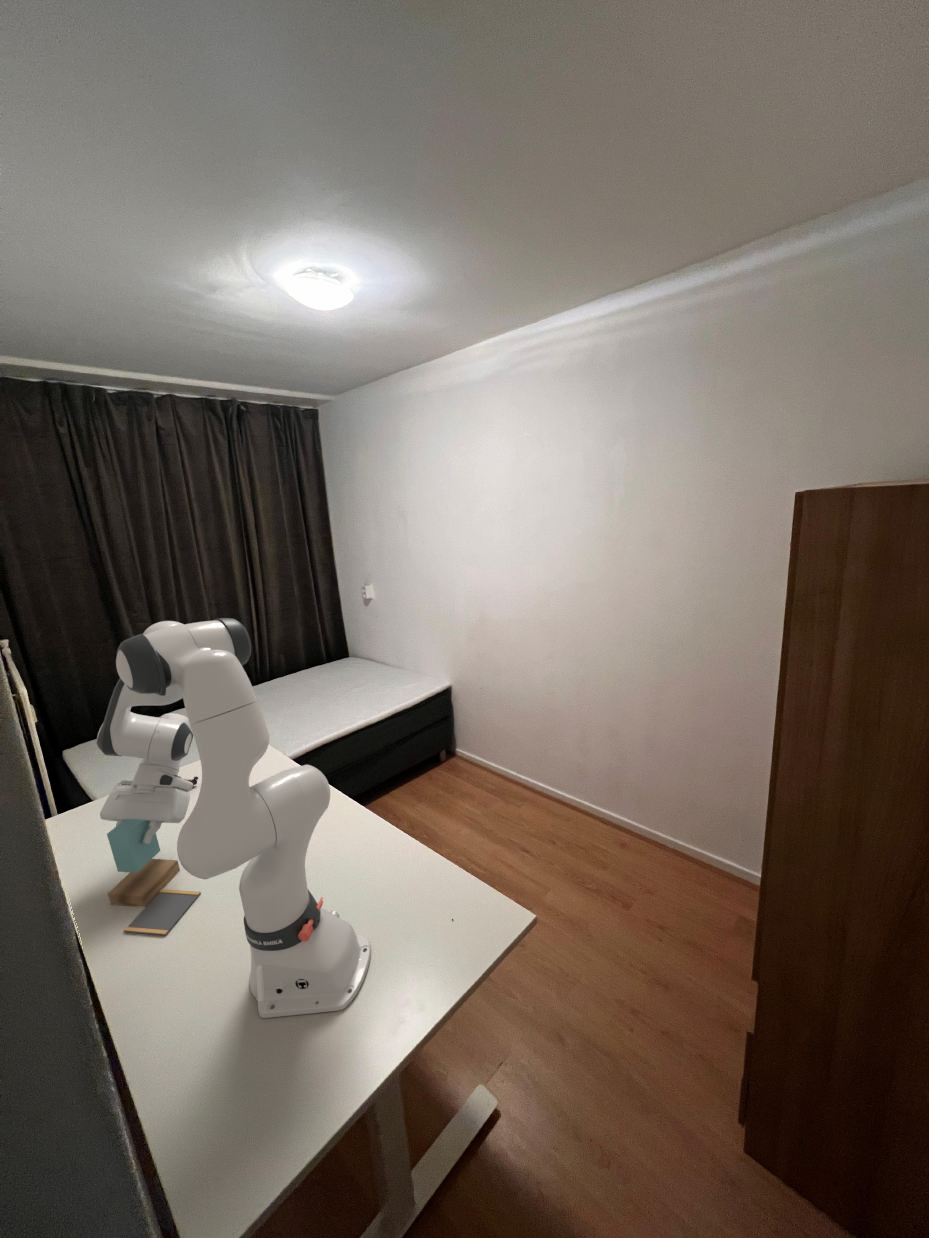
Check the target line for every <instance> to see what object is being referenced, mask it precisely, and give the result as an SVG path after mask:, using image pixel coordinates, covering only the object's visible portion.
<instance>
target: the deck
mask: <svg viewBox="0 0 929 1238" xmlns="http://www.w3.org/2000/svg"><path fill="white" fill-rule="evenodd" d="M180 871H181V869H180V865H179V859H176V860H175V859H163V858H161V859H160V858H152V859H151V860H150V861H149V862H148V863H147V864H146V865H145V866H144V867H143V868H142V869H141V870H140V871H139V872H137V873H133V872H128V874H127V875H125V877H123V878H122V880H120V882H119V883H117V885H115V886H114V887H113V888H112V889H110V891H109V892H108V893H107V897H108V899H109V904H110V905H111V906H125V907H138V908H145V907H146V906H147V905H148V904H149V903H150V902H151V901H152V900H153V899H154V898H155V897H156V896H157V895H158V894H159V892H160V890H161V889H165V887H166V886H168V884H169V883H170V882H172V880H173V879H174V878H175V876H177V874H178V873H179V872H180Z"/></svg>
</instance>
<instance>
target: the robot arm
mask: <svg viewBox="0 0 929 1238" xmlns="http://www.w3.org/2000/svg"><path fill="white" fill-rule="evenodd" d="M251 653H252V642H251V639H250V635H249V633H248V630H247V629H246V627H245V626H244V625H243V623H241V622H240V621H238V620H237V619H235V618H229V617H220V618H214V619H213V620H206V621H198V622H192V623H190V622H189V623H186V624H184V623H181V622H179V621H174V620H163V621H159V622H156V623H153V624H152V625H150V626H148V627H147V628H146V629H145V630H144V631H143V633H138V634H136V635H134V636H132V637H129V638H127V639H124V640H123V641H121V642H120V644H119V646H118V648H117V650H116V658H115V666H116V671H117V674H118V676H119V679H118V681H117V682H116V685H115V686H114V688H113V690H112V694H111V697H110V700H109V702H108V706H107V710H106V713H105V716H104V720H103V722H102V724H101V726H100V727H99V730H98V732H97V736H96V745H97V747H98V749H99V750H100V751H101V752H102V753H103V754H104V755H105V756H112V757H129V758H137V759H142V760H141V761H140V762H139V764H138V767H137V769H136V771H135V774H134V777H133V780H126V779H125V780H121V781H120V782H118V783H117V784H115V785H114V787H113V788H112V791H111V792H110V793H109V795H108V797H107V798H106V800H105V802H104V804H103V805H102V808H101V811H100V813H99V817H100V819H101V820H103V821H108V822H116V823H115V827H116V826H117V825H119V824H120V823H121V822H123V821H124V820H125V819H137V820H145V821H150V824H149V826H150V828H149V830H148V831H147V832H146V834H145V835H141V839H140V841H139V842H140V843H143V844H149V843H150V842H151V839H152V836H153V835H154V834H155V833H156V834H157V832H158V831H159V830H160V829H161V827H162V823H164V824H180V823H181V822H183V820H184V819H185V817H186V814H187V811H188V807H189V806H190V805H189V804H190V801H191V794H190V793H189V792H191V791H192V790H193V787H194V786H193V783H192V782H190V781H187V780H188V779H187V780H185V779H186V778H182V776H180V775H179V772H180V766H181V765H180V764H181V761H182V760H183V759H184V758H185V757H186V756H188V753H189V750H190V748H191V744H192V742H193V738H194V740H195V745H196V747H197V752H198V756H199V759H200V760H199V761H200V765H201V785H200V789H199V793H198V797H197V800H196V802H195V805H194V806H193V809H192V811H191V813H190V815H189V816H188V818H187V819H186V820H185V822H184V823H183V825H182V827H181V829H180V832H179V833H178V836H177V841H176V852H177V858H178V861H179V863H180V864H181V866H182V867H183V869H184V870H185V871H187V873H188V874H190V875H191V876H193V877H195V878H198V879H202V880H209V879H211V878H214V877H217V876H220V875H223V874H225V873H227V872H230V871H232V870H235V869H237V868H239V867H241V866H242V865H244V864H246V866H245V867H244V869H243V871H242V873H241V876H240V880H239V887H238V889H239V893H240V895H239V896H240V899H241V904H242V909H243V913H244V915H243V925H244V927H243V928H244V932H245V936H246V941H247V942H248V944H249V947H250V957H251V958H250V965H251V966H250V974H249V984H248V985H249V990H250V992H251V995H252V996H253V998H254V999H255V1000H256V1003H257V1012H258V1016H259V1017H260V1018H263V1019H267V1018H277V1017H287V1016H296V1015H306V1014H317V1013H327V1012H336V1011H342V1010H343V1009H345V1008H346V1007H347V1006H348V1005H350V1003H352V1001H353V1000H354V998H355V997H356V996H357V994H358V993H359V991H360V989H361V987H362V985H363V983H364V982H365V981H364V980H365V978H366V975H367V972H368V970H369V969H368V968H369V967H370V961H371V955H372V950H371V949H372V948H371V947H372V946H371V944H370V940H369V937H368V936H365V935H362V934H359V933H356V932H355V929H354V927H353V925H352V924H351V923H349V922H348V921H346V920H344V919H342V918H340V914H339V913H338V912H337V911H335V910H331V911H327V910H326V909H324V908H322V907H323V904H324V900H323V899H324V898H323V897H320V899H319V901H318V902H317V900H316V899H315V897H314V896H313V894H312V893H311V892H310V890H309V888H308V881H307V876H306V874H307V873H306V872H307V871H306V856H307V852H308V848H309V845H310V841H311V837H312V836H313V834H314V830H315V828H316V826H317V824H318V823H319V820H321V818H322V816H323V815H324V813H326V811H327V809H328V808H329V804H330V800H331V788H330V785H329V781H328V779H327V778H326V776H325V774H323V772H322V771H321V770H319V769H318V768H316V767H315V766H313V765H310V764H304V765H299V766H297V767H292V768H288V769H284V770H282V771H280V772H278V773H275V774H274V775H271V776H269V777H268V778H265V779H264V780H261V781H259V782H257V783H255V784H252V785H251V786H250V778H251V776H250V775H251V772H252V770H253V768H254V767H255V765H256V764H257V763H258V762H259V761H260V760H261V759H262V757H263V756H264V755H265V753H266V752H267V750H268V748H269V745H270V733H269V731H268V728H267V723H266V721H265V718H264V716H263V712H262V710H261V707H260V704H259V700H258V697H257V695H256V692H255V690H254V687H253V685H252V683H251V680H250V678H249V677H248V675H247V672H246V671H245V669H244V667H243V666H244V665H246V664H247V662H249V660H250V657H251ZM180 700H183V704H184V707H185V708H184V709H185V712H186V715H183V714H180V713H173V712H169V713H164V714H162V715H161V716H160V717H158V716H156V717H155V716H149V715H146V714H145V715H143V714H138V713H134V712H132V711H131V709H132V708H133V707H138V706H167V705H170V704H173V703H176V702H178V701H180Z"/></svg>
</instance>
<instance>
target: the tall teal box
mask: <svg viewBox="0 0 929 1238" xmlns="http://www.w3.org/2000/svg"><path fill="white" fill-rule="evenodd" d="M149 824H150V821H145V820H137V819H125V820H124V821H123V822H121V823H120V824H119V825H117V826H116V825H115V827H113V828H112V829H111V830H109V832H107V833H106V836H107V839H108V842H109V843H108V844H109V846H110V849H111V854H112V857H113V860H114V864H115V866H116V869H117V872H118V873H130V872H133V873H137V872H139V871H140V870H141V869H142V868H143V867H144V866H145V865H146V864H147V863H148V862H149V861H150V860H151V859H154V857H156V856H157V854H159V853H160V852H161V848H160V844H159V840H158V837H157V832H156V833H155V834H154V835H153V836H152V839H151V842H150V843H149V844H143V843H140V842H139V841H140V839H141V835H145V834H146V832H147V831H148V830H149V828H150V826H149Z"/></svg>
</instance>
